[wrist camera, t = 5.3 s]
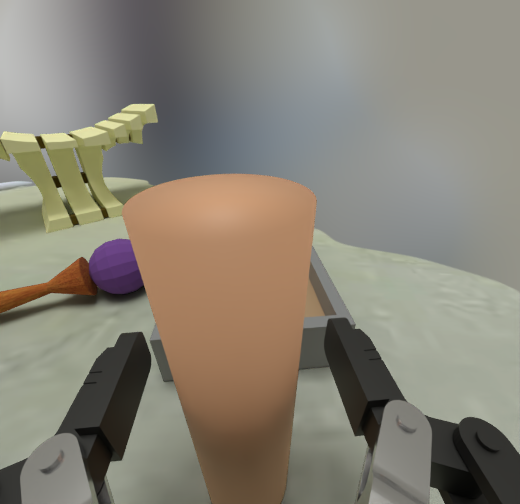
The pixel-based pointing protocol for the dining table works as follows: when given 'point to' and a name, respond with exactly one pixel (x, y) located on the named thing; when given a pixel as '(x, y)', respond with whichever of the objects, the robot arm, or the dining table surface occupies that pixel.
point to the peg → (230, 316)
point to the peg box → (315, 322)
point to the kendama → (86, 276)
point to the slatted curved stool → (66, 168)
